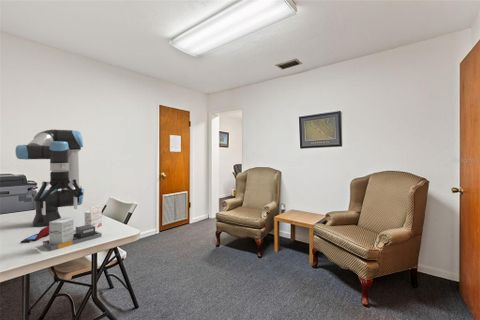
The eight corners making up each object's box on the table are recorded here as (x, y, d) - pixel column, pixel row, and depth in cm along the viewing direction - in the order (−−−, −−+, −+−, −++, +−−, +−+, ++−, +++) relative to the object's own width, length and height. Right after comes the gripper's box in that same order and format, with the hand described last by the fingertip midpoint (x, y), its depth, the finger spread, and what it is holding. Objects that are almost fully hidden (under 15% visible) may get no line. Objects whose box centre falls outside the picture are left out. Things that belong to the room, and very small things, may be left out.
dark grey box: (75, 238, 126) (75, 227, 126) (89, 234, 132) (89, 224, 132) (81, 240, 122) (81, 229, 122) (95, 236, 128) (95, 226, 128)
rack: (42, 246, 116) (42, 241, 116) (92, 233, 135) (92, 229, 135) (51, 252, 109) (51, 246, 109) (101, 237, 128) (101, 233, 128)
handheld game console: (36, 235, 133) (36, 222, 132) (56, 234, 134) (56, 222, 134) (19, 243, 120) (19, 230, 120) (41, 242, 122) (41, 229, 122)
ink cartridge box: (95, 226, 149) (95, 204, 148) (102, 226, 148) (101, 204, 147) (84, 230, 140) (84, 207, 140) (91, 231, 139) (90, 207, 139)
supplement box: (48, 246, 115) (48, 222, 114) (61, 240, 122) (61, 217, 122) (62, 247, 114) (61, 222, 114) (74, 241, 121) (73, 218, 121)
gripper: (29, 173, 104) (30, 218, 105) (89, 170, 125) (90, 207, 126) (25, 172, 109) (26, 215, 109) (83, 169, 129) (84, 205, 130)
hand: (60, 211), depth 118 cm, fingers open, 13 cm apart
